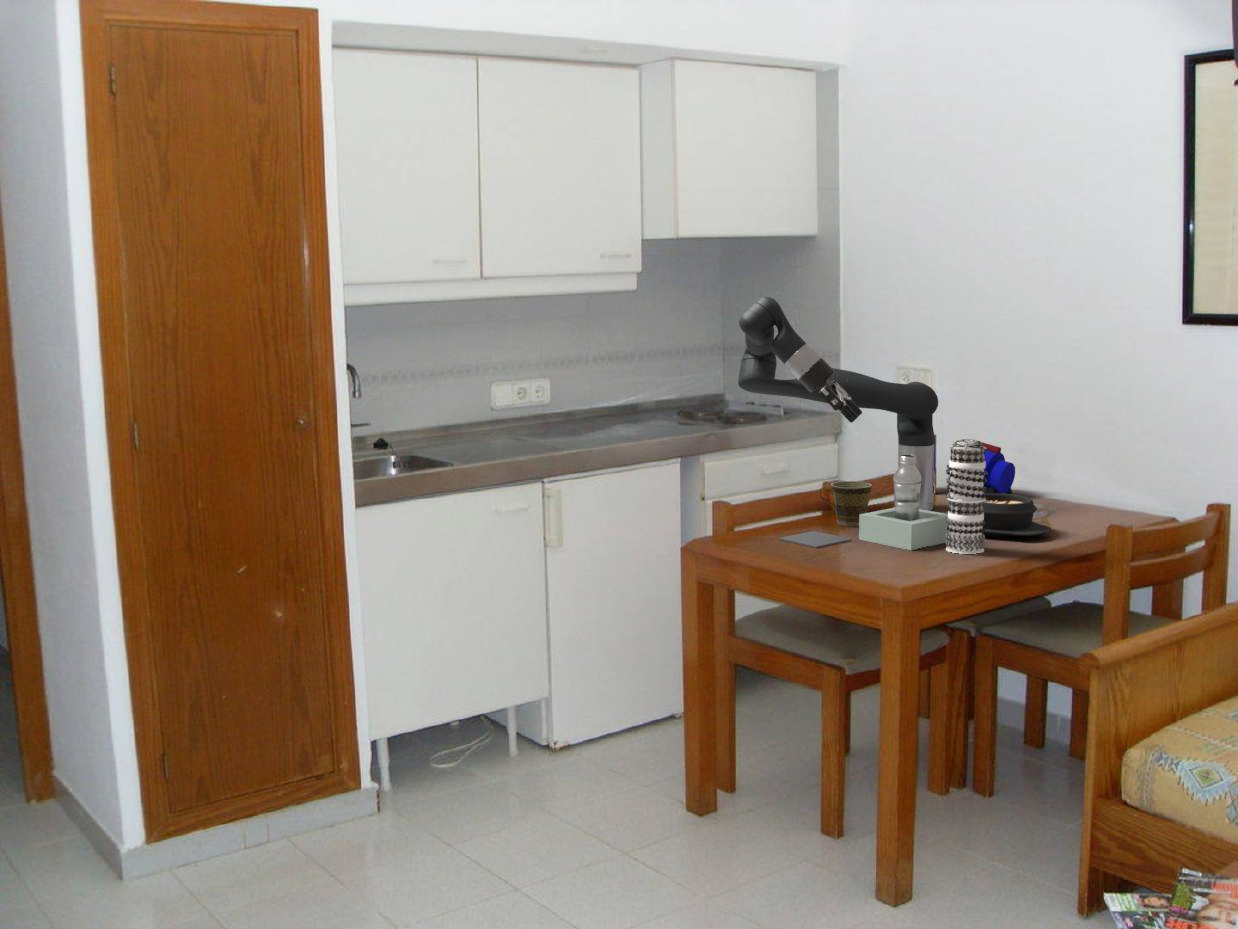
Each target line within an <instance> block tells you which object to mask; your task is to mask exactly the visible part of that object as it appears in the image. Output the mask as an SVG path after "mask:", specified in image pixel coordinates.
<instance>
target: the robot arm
mask: <svg viewBox="0 0 1238 929" xmlns="http://www.w3.org/2000/svg"><path fill="white" fill-rule="evenodd" d="M738 326H739V328H740V330H741V331H742V332H743V333H744V343H745V346H746V348H745V349H744V353H743V355H742V357H741V360H740V367H739V373H738V381H737V385H738V387H739V388H740V389H741V390H744V391H746V392H749V393H754V394H760V395H770V396H778V397H779V396H780V397H781V396H782V397H791V398H798V399H804V400H809V401H814V402H818V403H824V404H829V406H831V407H832V409H833V411H835V412H838V413H841V414H842V416H843V417H845V419H846V420H847V421H848V422H849V423H854V422H855V421H856V420H857V419H858V418H859V417H860V415H862V414H863V411H862V410H861V409H869V410H871V409H872V410H880V411H886V412H890V413H894V414H896V431H897V435H898V437H897V439H898V440H897V442H898V443H897V446H898V447H897V469H898V468H899V467H900V465H901V464H900V463H899V461H900V455H916V464H915V467H916V468H917V469H918V471H919V473H920V474H921V478H922V482H921V488H920V495H919V509H922V510H928V511H932V510H934V494H933V486H934V443H935V435H936V434H935V431H934V423H933V419H934V414H935V412H937V410H938V406H939V397H938V395H937V393H936V392H935V390H934V389H933V388H932V387H930V385H927V384H926V383H923V382H920V381H912V382H911V381H910V382H907V383H898V382H889V381H885V380H882V379H878V378H875V377H872V376H869V375H866V374H863V373H859V372H855V371H852V370H847V369H845V370H844V369H841V368H834V367H831V366H830V364H829V363H828V362H826V360H825V359H824V358H823V357H822V356H821V355H820V354H819V353H818V352H817V351H816V350H814V348H812V347H811V346H810V345H809V344H807V342H806V341H805V340H803V338H802V337H801V336H800V335H799V334H798V333H797V332H796V331H795V329H794V328H793V327H792V324H791V323H790V322H789V319H787V317H786V315H785V313H784V311H783V308H782V307H781V305H780V303H779V302H778V301H777V300H776V299H774V298H773V297H771V296H768V295H767V296H766V295H765V296H761V297H760V298H759V299H758V300H757V301H755V302H754V304H752V305H751V306H750V307H749V308H748V309H747V310H745V312H743V313H742V314H741V316H740V317H739V319H738ZM775 327H776V328H777V334H776V336H775ZM777 358H778V359H779V360H780V361H781V362H782V363H783V364H784V365H785V366H786V368H787V369H788V371H789V372H790V373H791V375H793V376H794V379H778V378H777V379H776V371H777V366H778V364H777ZM895 502H896V500H895V490H894V489H893V508H895Z"/></svg>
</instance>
